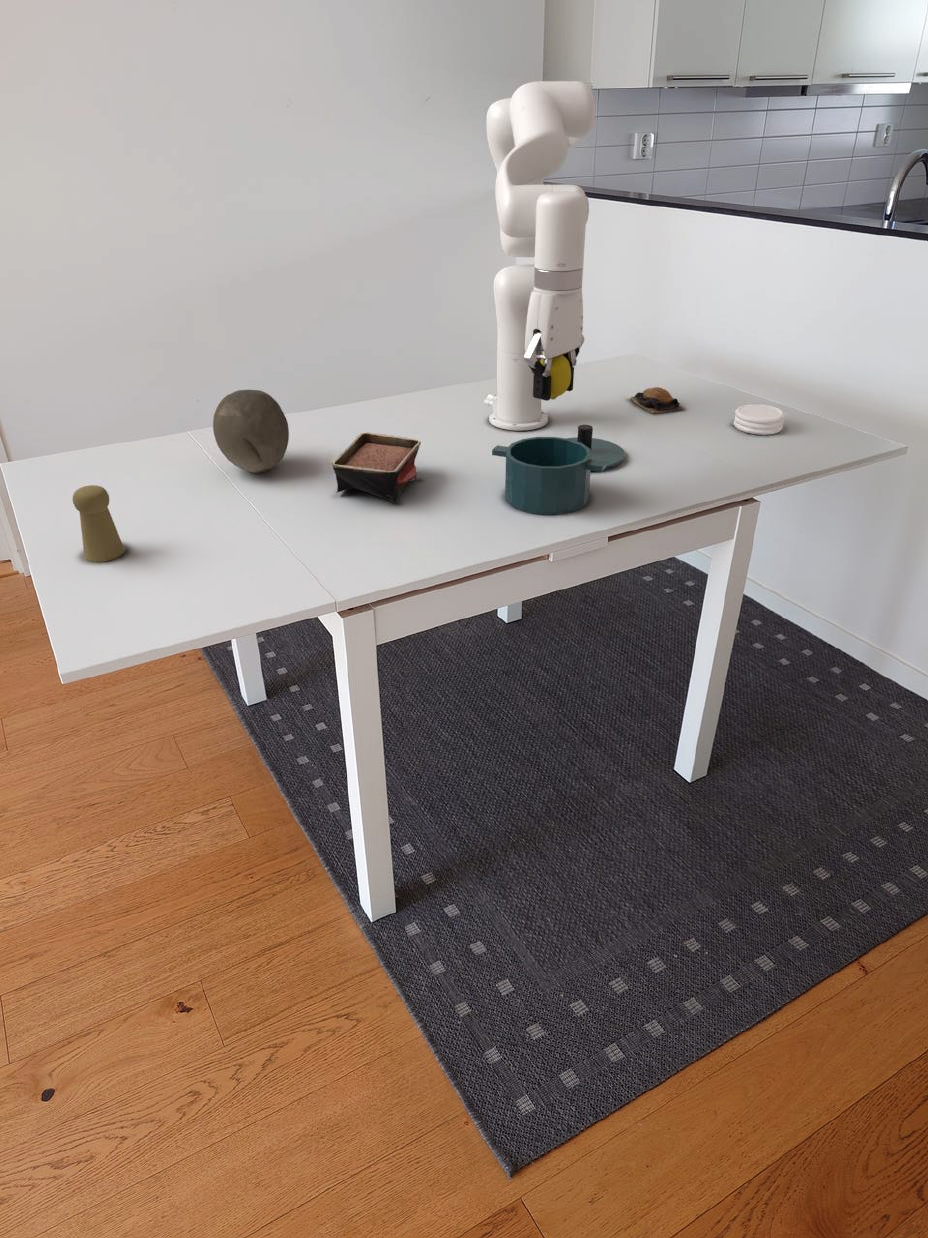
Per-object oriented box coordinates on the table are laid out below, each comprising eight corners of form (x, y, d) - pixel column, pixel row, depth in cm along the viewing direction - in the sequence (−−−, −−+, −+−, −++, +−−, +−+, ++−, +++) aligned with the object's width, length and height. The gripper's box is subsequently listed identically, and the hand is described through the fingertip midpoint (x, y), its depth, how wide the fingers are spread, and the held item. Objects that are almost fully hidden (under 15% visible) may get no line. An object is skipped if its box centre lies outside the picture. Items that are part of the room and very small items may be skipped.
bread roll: (627, 400, 202) (628, 384, 200) (659, 396, 204) (661, 380, 202) (651, 414, 193) (652, 398, 192) (684, 410, 196) (686, 393, 194)
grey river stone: (308, 462, 172) (300, 385, 164) (265, 489, 161) (254, 408, 153) (248, 451, 177) (237, 376, 169) (203, 476, 166) (189, 398, 158)
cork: (90, 545, 143) (73, 481, 137) (128, 543, 143) (113, 479, 137) (79, 562, 138) (62, 497, 132) (119, 561, 138) (103, 495, 132)
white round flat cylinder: (788, 424, 187) (791, 408, 186) (774, 438, 180) (777, 422, 179) (741, 416, 192) (744, 400, 190) (726, 430, 185) (729, 413, 183)
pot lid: (558, 438, 182) (559, 409, 179) (633, 448, 176) (636, 419, 173) (531, 465, 170) (532, 434, 166) (611, 477, 164) (614, 446, 161)
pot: (508, 473, 166) (509, 430, 162) (612, 490, 159) (616, 445, 155) (478, 503, 155) (478, 457, 150) (588, 523, 148) (592, 475, 143)
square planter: (431, 486, 166) (429, 432, 163) (394, 510, 151) (391, 452, 147) (361, 482, 171) (357, 430, 167) (319, 506, 155) (313, 449, 152)
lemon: (568, 405, 145) (570, 356, 141) (534, 403, 146) (536, 354, 142) (571, 395, 150) (574, 347, 145) (538, 393, 151) (540, 345, 146)
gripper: (570, 268, 145) (564, 377, 155) (504, 285, 134) (503, 402, 144) (608, 273, 141) (600, 386, 151) (544, 292, 130) (540, 411, 140)
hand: (553, 392), depth 147 cm, fingers closed on lemon, 5 cm apart
